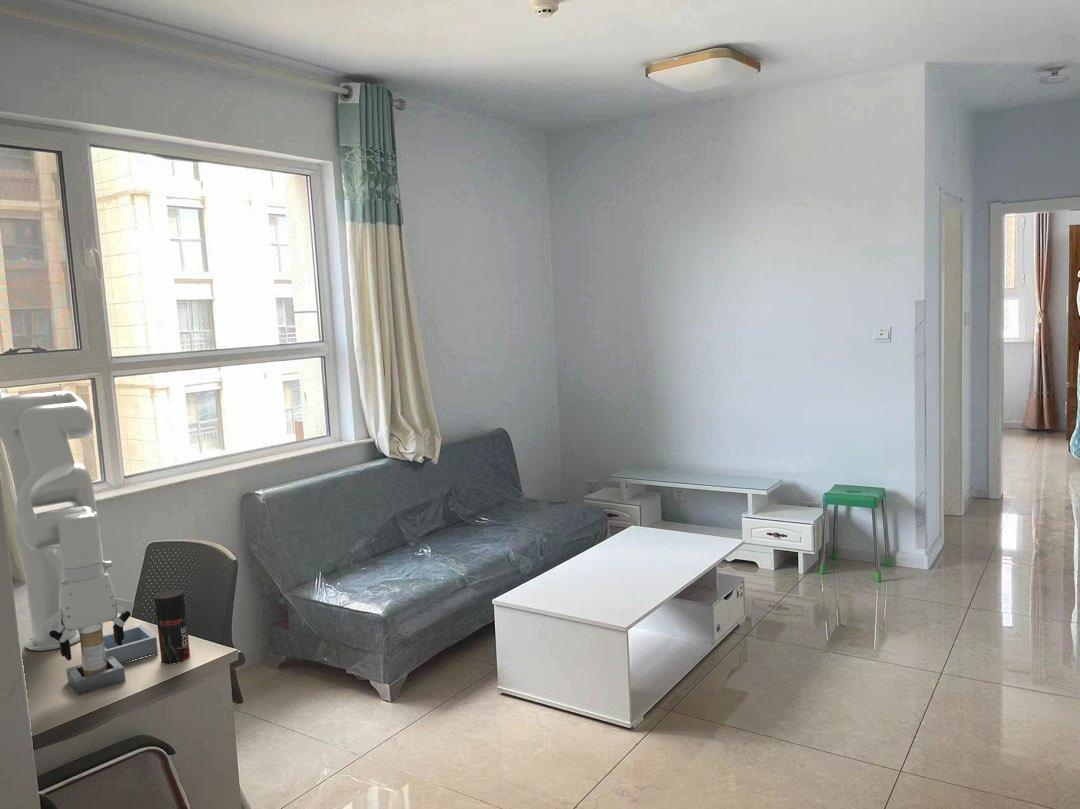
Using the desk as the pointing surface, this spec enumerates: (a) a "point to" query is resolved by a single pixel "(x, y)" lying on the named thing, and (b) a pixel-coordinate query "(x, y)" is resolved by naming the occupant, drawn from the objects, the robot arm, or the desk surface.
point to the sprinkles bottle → (92, 649)
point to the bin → (131, 644)
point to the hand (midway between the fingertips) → (93, 651)
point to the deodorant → (172, 626)
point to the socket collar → (95, 677)
